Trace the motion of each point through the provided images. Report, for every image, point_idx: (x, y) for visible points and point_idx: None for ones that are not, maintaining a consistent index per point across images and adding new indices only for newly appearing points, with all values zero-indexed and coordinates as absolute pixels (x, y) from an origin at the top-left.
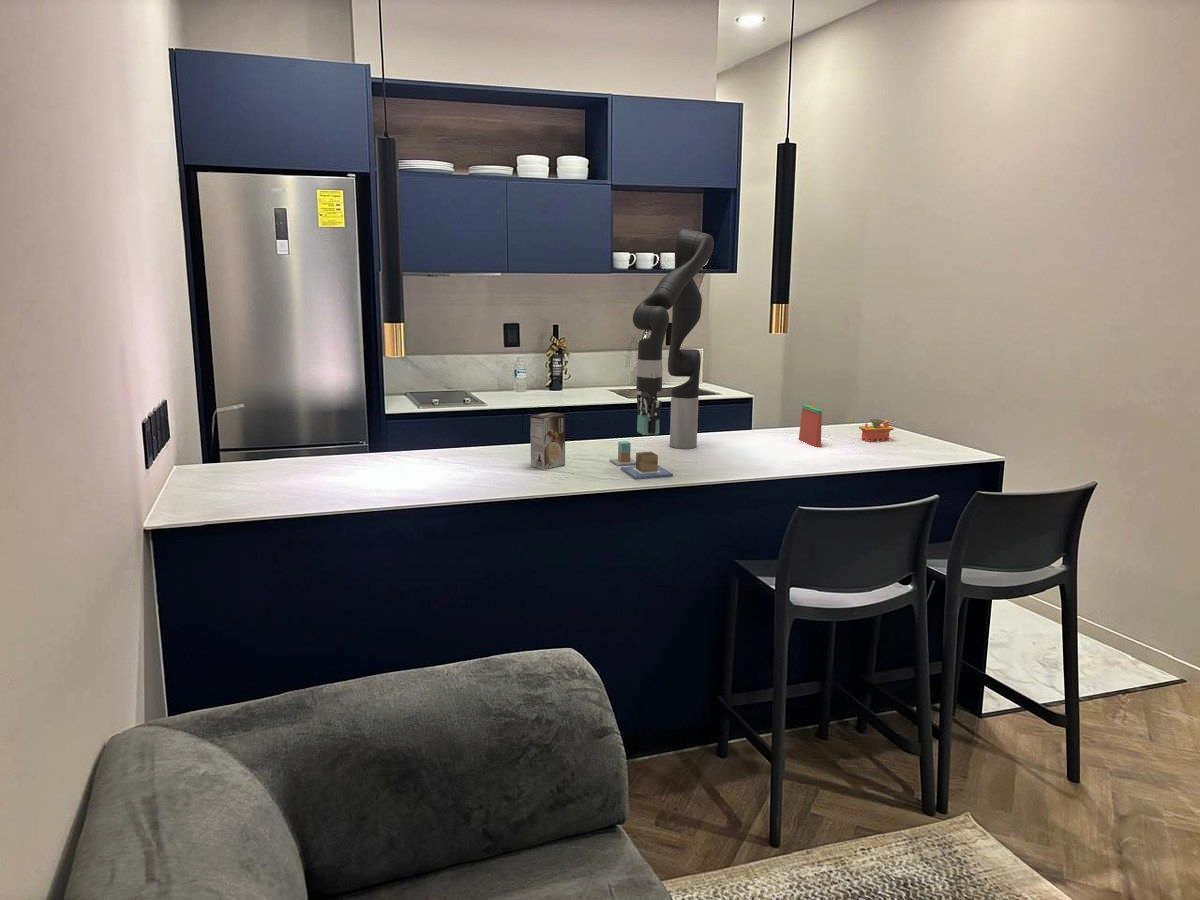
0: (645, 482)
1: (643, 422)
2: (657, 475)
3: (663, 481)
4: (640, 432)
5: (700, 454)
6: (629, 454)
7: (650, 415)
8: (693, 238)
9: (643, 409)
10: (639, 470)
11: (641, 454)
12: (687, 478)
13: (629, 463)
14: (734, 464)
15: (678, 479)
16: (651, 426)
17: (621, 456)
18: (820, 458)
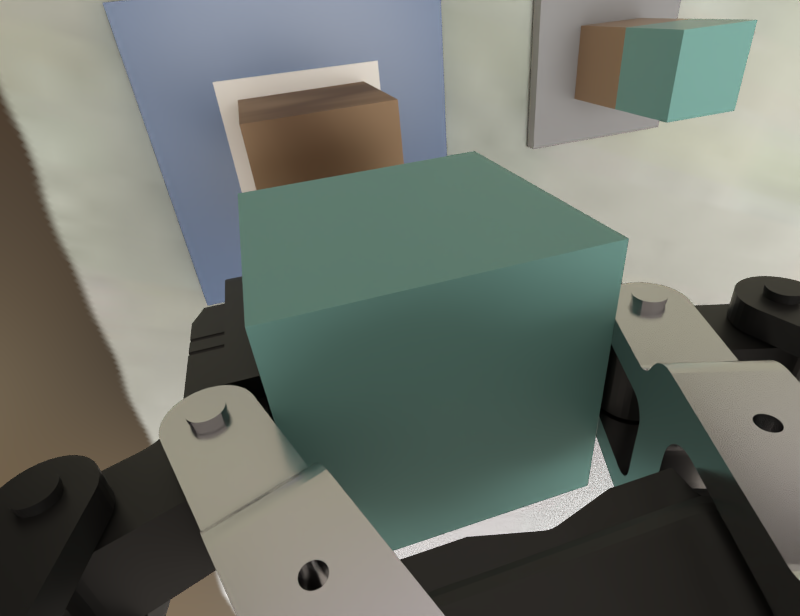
0: (4, 69)
1: (258, 273)
2: (173, 202)
3: (61, 217)
4: (357, 176)
5: (600, 452)
6: (606, 99)
7: (191, 513)
8: None
9: (658, 432)
10: (289, 92)
11: (316, 133)
12: (160, 366)
13: (537, 81)
14: (415, 547)
15: (131, 317)
16: (189, 368)
17: (608, 28)
18: None
